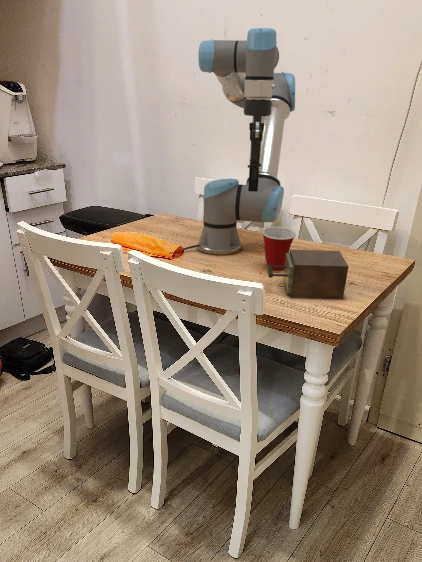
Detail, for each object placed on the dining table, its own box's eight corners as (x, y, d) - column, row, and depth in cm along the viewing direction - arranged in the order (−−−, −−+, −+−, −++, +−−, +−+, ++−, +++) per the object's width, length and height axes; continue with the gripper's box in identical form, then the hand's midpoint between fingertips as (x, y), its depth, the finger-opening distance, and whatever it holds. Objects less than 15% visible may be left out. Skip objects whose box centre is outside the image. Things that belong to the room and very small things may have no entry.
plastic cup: (269, 275, 151) (272, 237, 145) (253, 264, 160) (255, 228, 153) (298, 271, 155) (303, 234, 149) (281, 261, 164) (285, 225, 157)
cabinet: (291, 297, 137) (294, 264, 132) (286, 280, 148) (290, 249, 143) (343, 299, 136) (348, 266, 131) (334, 281, 148) (339, 250, 143)
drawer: (267, 293, 137) (269, 266, 133) (265, 277, 148) (267, 252, 143) (334, 295, 136) (339, 268, 132) (328, 279, 147) (331, 254, 143)
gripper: (273, 100, 124) (266, 196, 137) (270, 98, 135) (264, 186, 148) (244, 99, 125) (240, 195, 137) (243, 97, 136) (240, 186, 148)
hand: (252, 190), depth 142 cm, fingers closed
